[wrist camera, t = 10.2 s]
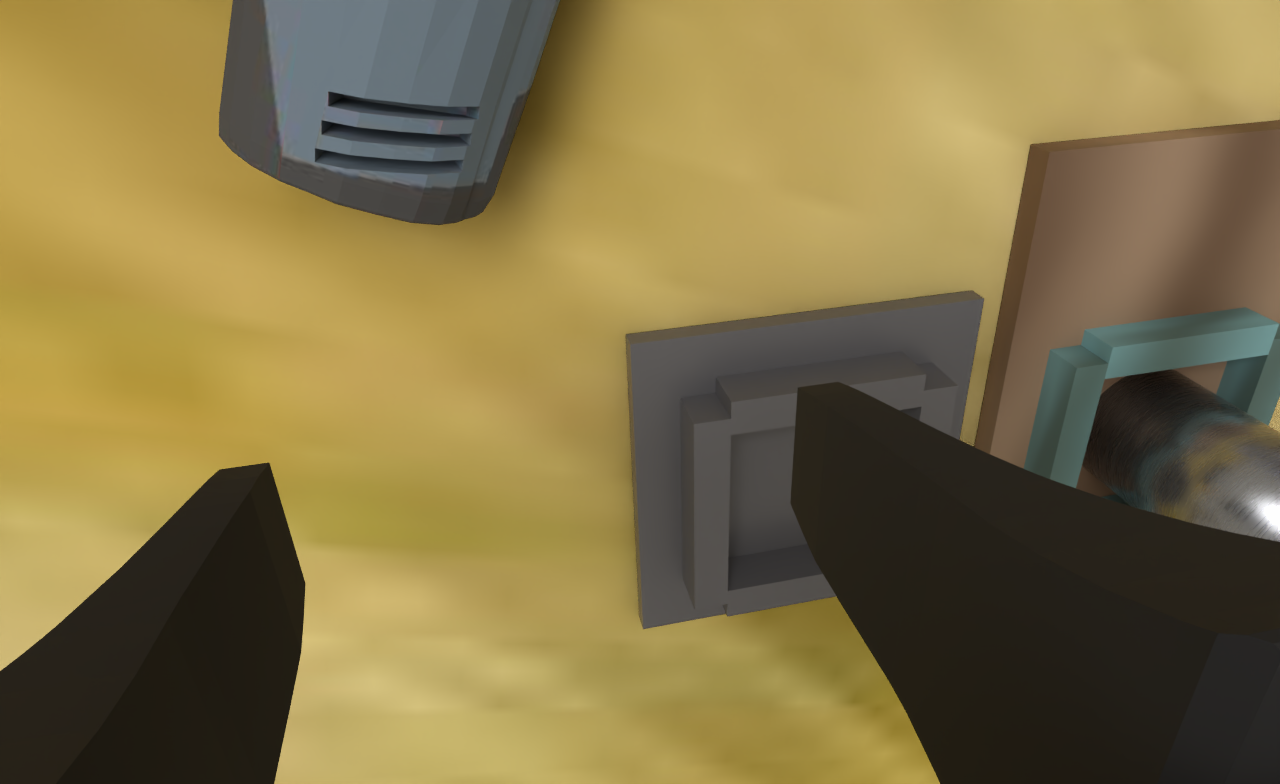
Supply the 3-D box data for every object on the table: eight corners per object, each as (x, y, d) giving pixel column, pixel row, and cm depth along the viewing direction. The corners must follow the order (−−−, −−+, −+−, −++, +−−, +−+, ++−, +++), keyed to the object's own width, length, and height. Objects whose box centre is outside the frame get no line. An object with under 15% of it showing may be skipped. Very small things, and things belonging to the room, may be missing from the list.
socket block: (972, 290, 25) (1013, 319, 23) (926, 563, 29) (957, 603, 28) (625, 334, 23) (642, 368, 21) (639, 615, 28) (652, 662, 26)
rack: (1351, 113, 24) (1421, 128, 23) (1177, 595, 33) (1218, 632, 32) (1030, 144, 23) (1080, 164, 21) (937, 642, 32) (967, 685, 30)
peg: (1179, 343, 26) (1404, 469, 20) (1203, 433, 28) (1415, 572, 22) (1062, 414, 26) (1248, 560, 20) (1094, 498, 28) (1272, 653, 22)
